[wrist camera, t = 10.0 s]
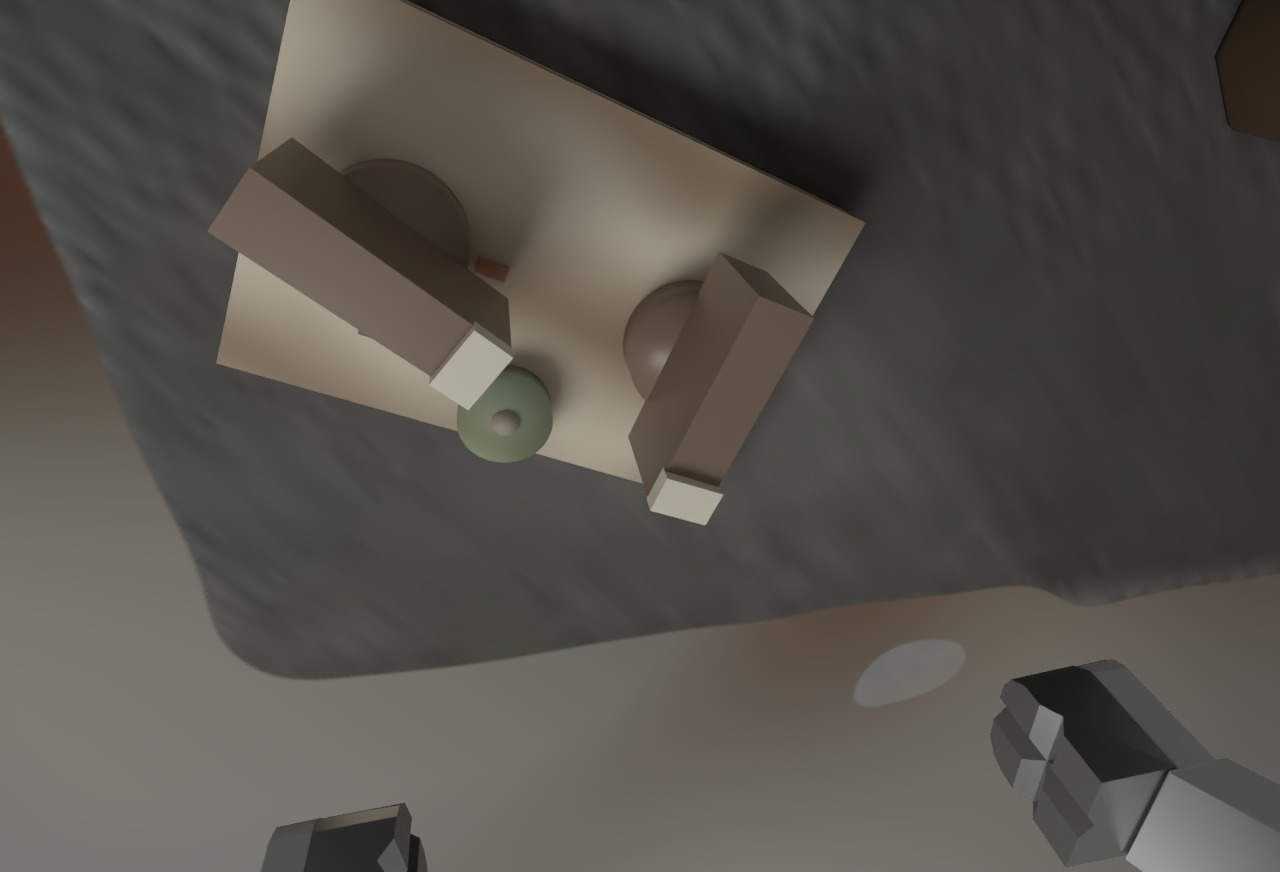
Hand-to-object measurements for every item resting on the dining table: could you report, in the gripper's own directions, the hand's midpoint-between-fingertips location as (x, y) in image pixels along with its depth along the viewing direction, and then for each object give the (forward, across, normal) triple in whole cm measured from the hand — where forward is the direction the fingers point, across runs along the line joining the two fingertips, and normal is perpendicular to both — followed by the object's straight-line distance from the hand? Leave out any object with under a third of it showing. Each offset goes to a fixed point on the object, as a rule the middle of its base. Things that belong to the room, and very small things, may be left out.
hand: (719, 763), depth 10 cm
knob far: (+17, -4, +2) cm, 18 cm away
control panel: (+19, +1, -1) cm, 19 cm away
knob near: (+17, +5, -3) cm, 18 cm away
